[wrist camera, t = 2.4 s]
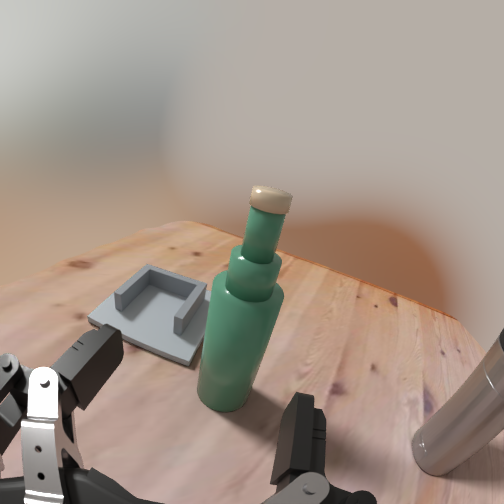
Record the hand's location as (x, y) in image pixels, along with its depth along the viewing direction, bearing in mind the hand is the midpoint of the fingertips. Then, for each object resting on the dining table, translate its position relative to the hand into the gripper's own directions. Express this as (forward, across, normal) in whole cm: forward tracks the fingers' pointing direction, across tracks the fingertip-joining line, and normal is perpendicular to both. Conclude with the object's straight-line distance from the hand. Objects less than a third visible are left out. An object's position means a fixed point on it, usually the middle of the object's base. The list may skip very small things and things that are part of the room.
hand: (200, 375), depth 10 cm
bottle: (+12, 0, +17) cm, 21 cm away
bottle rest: (+22, +13, +17) cm, 31 cm away
